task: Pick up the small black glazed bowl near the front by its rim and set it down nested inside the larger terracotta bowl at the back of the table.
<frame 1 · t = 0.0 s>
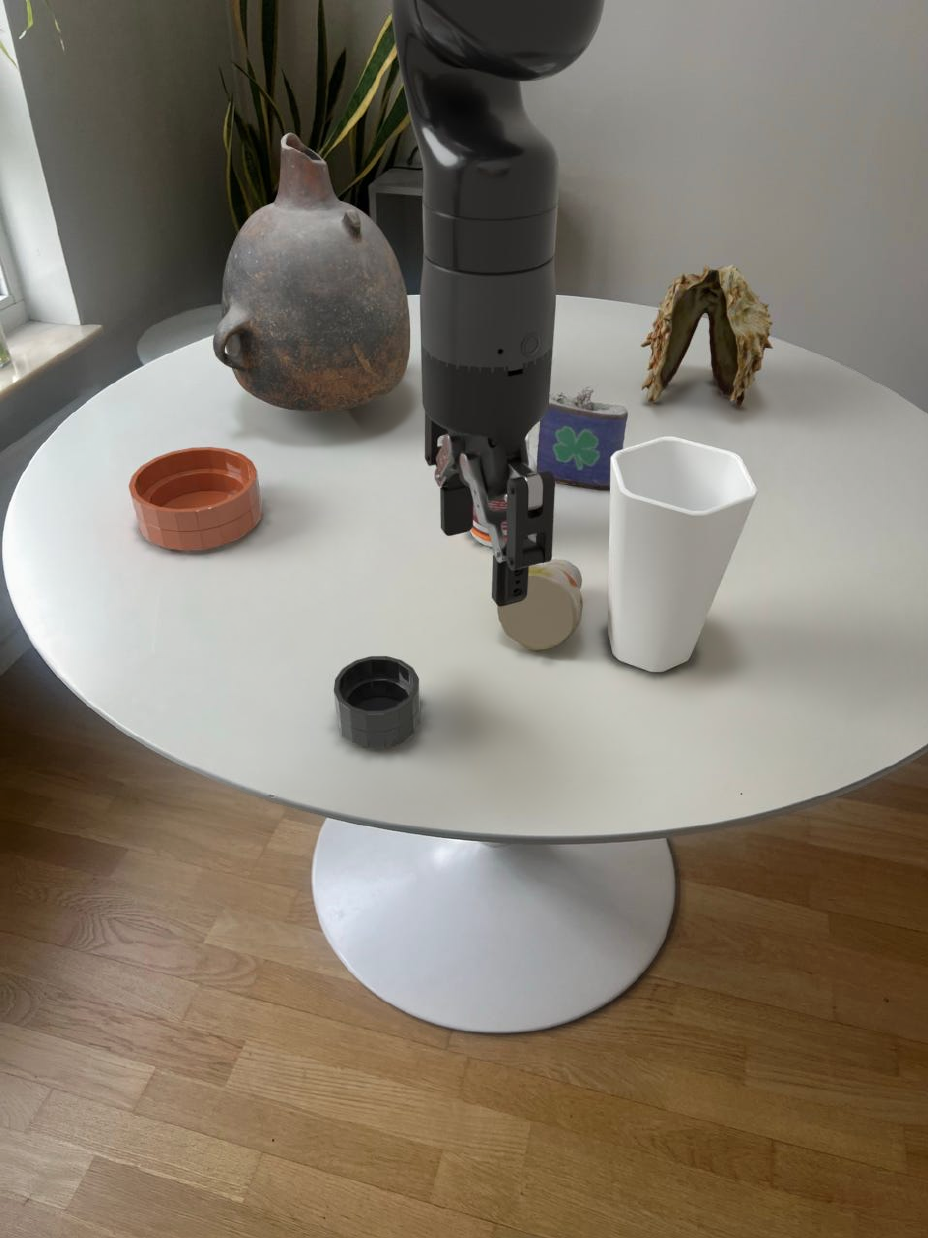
hand: (481, 564, 63), 16 cm above the table, tool pointing down, fingers open, 8 cm apart
flask: (576, 480, 102), on the table
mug: (542, 620, 83), on the table
pill bottle: (500, 534, 94), on the table
seashell: (695, 400, 116), on the table
terracotta bowl: (202, 520, 95), on the table
black bowl: (379, 722, 73), on the table
cup: (648, 645, 81), on the table
jug: (326, 408, 114), on the table
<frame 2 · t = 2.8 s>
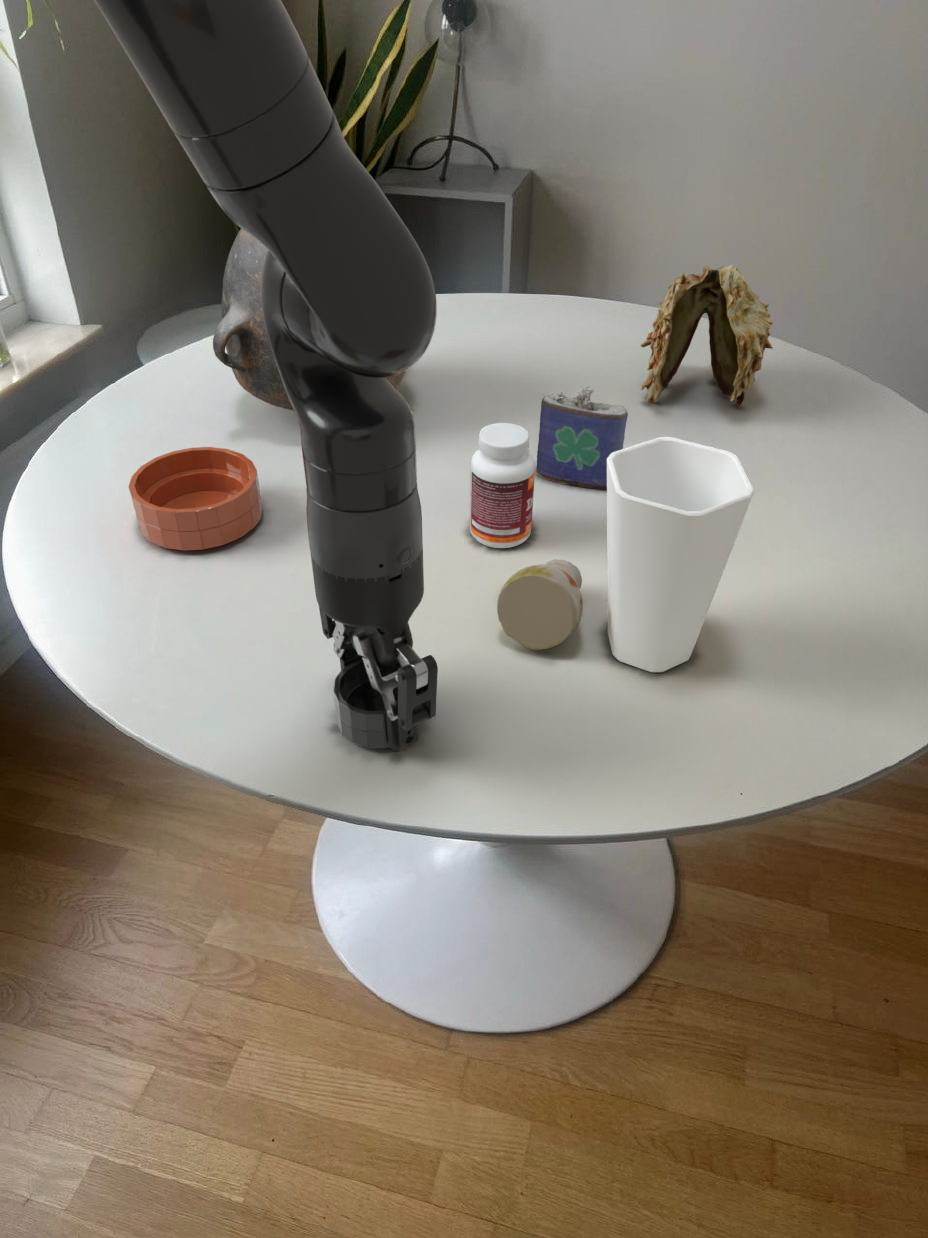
hand: (379, 715, 73), 1 cm above the table, tool pointing down, fingers closed on black bowl, 6 cm apart
black bowl: (379, 722, 73), on the table, touching gripper
everything else where it was.
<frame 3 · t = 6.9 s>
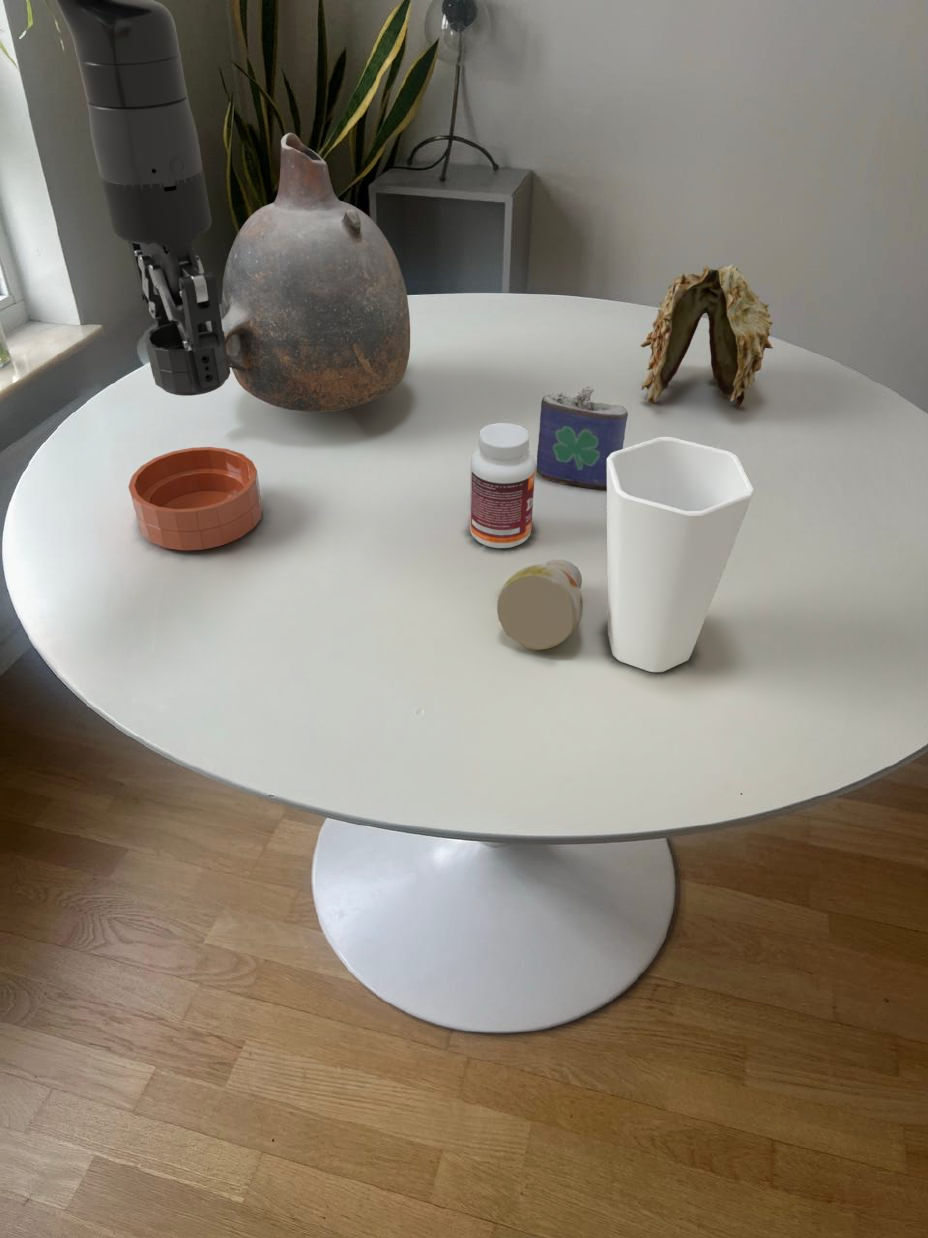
hand: (191, 372, 81), 18 cm above the table, tool pointing down, fingers closed on black bowl, 6 cm apart
black bowl: (193, 381, 81), point 17 cm above the table, touching gripper
everything else where it was.
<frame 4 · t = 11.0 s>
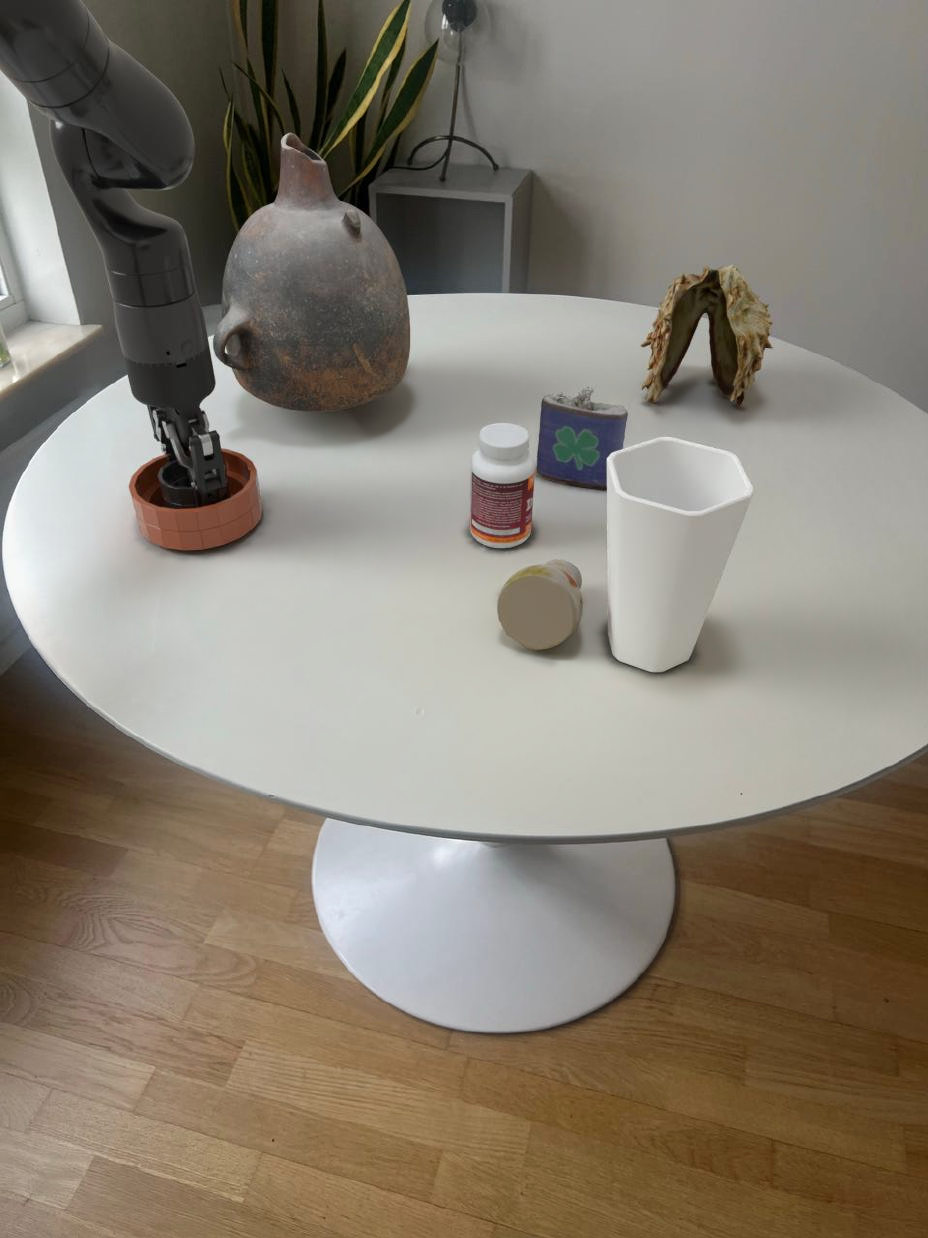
hand: (197, 501, 93), 2 cm above the table, tool pointing down, fingers closed on black bowl, 6 cm apart
black bowl: (199, 507, 94), point 2 cm above the table, touching gripper
everything else where it was.
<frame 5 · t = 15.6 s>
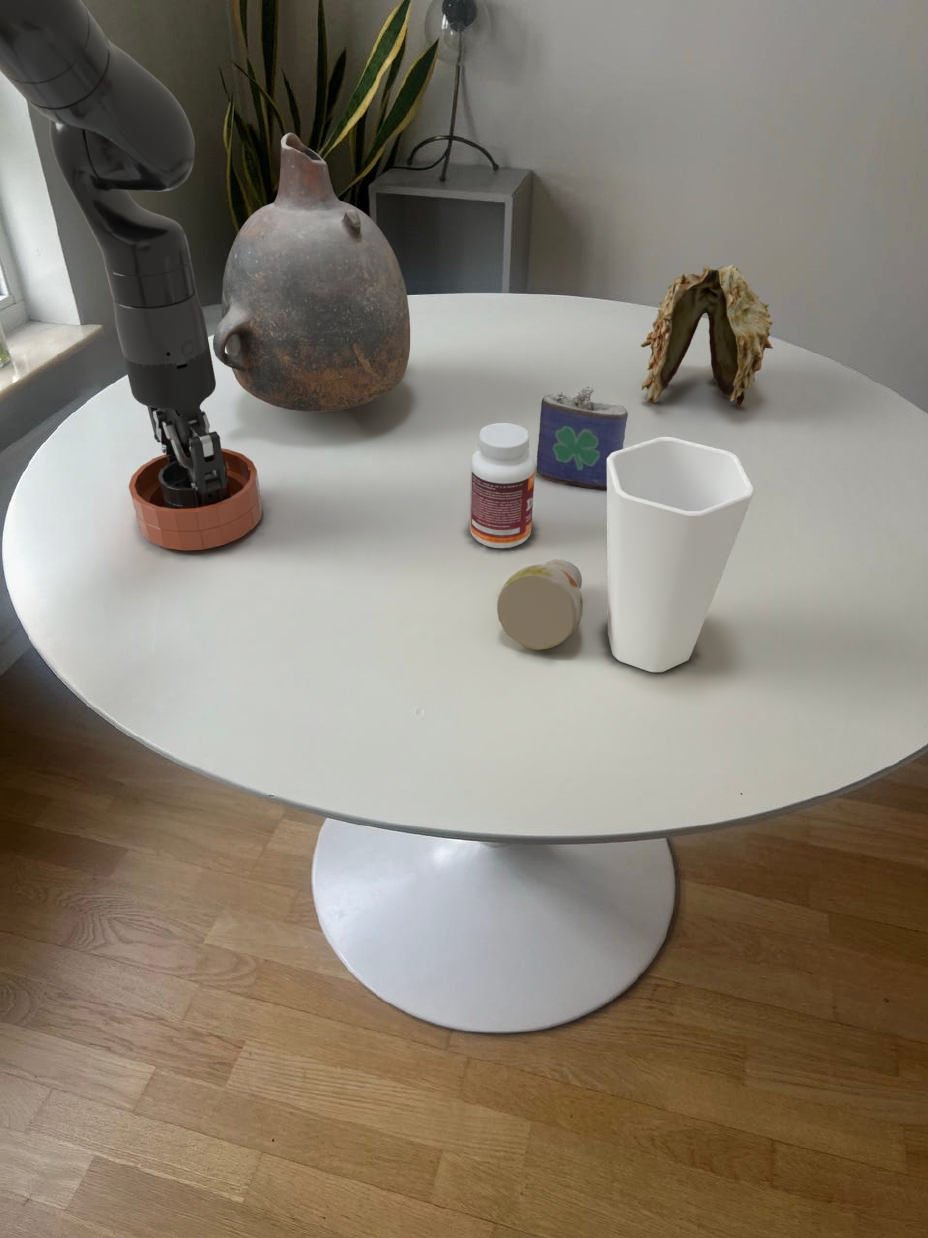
hand: (198, 502, 93), 2 cm above the table, tool pointing down, fingers closed on black bowl, 6 cm apart
black bowl: (199, 508, 94), point 1 cm above the table, touching gripper
everything else where it was.
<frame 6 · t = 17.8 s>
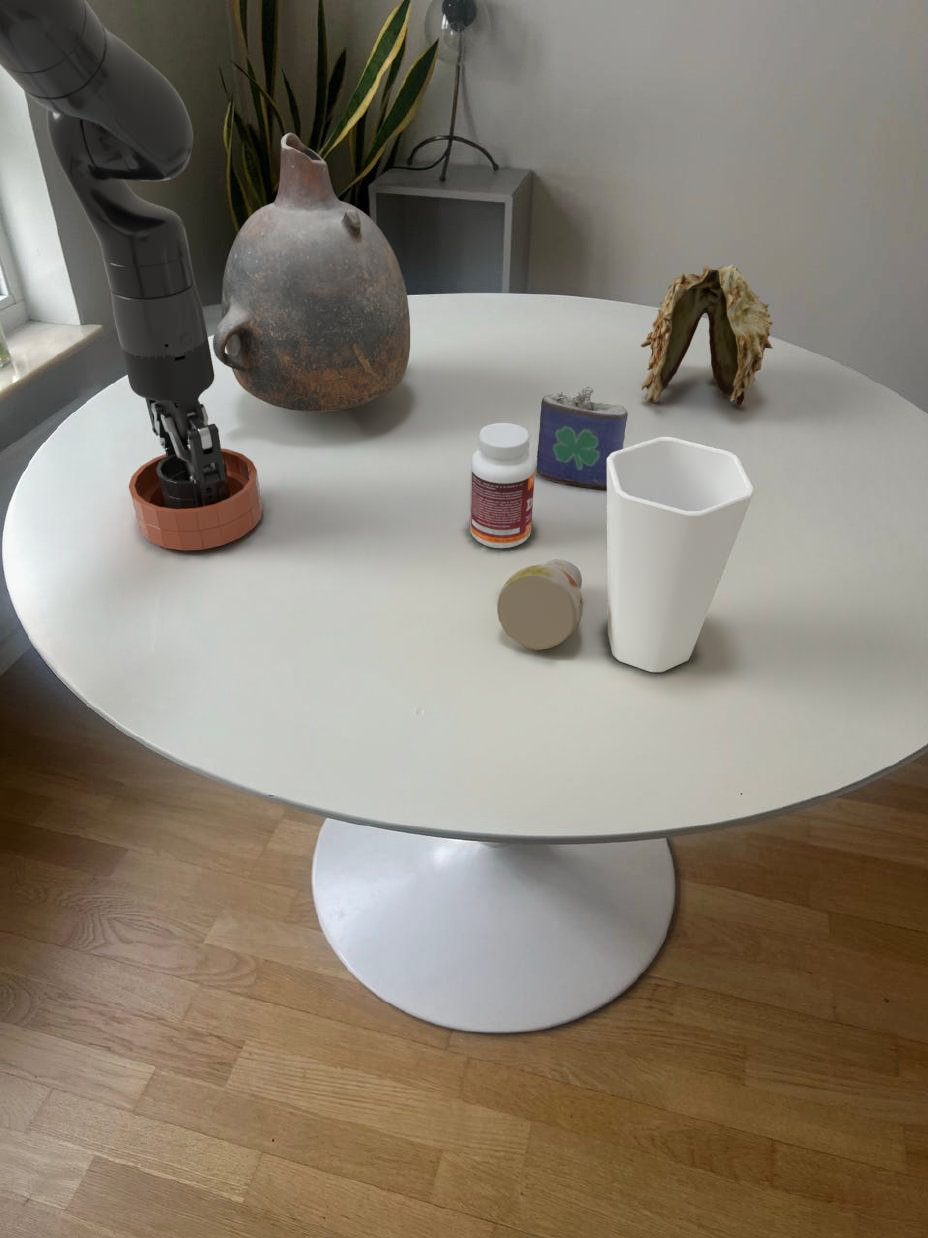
hand: (196, 495, 93), 3 cm above the table, tool pointing down, fingers closed on black bowl, 6 cm apart
black bowl: (198, 502, 94), point 2 cm above the table, touching gripper
everything else where it was.
when the fingers open (4 cm above the table, at t = 20.1 s): black bowl stays where it is, resting on terracotta bowl.
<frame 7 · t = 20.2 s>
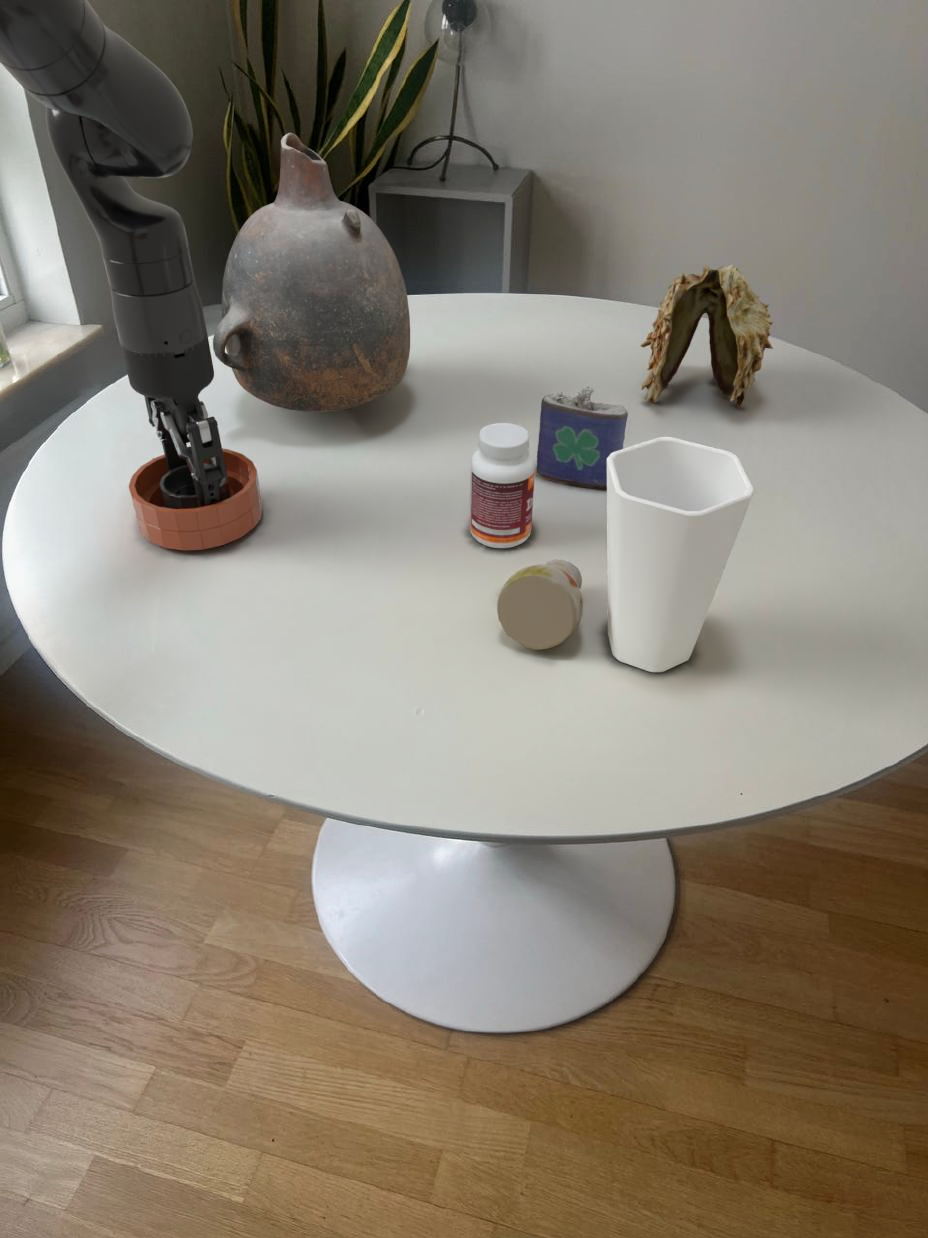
hand: (195, 489, 93), 4 cm above the table, tool pointing down, fingers open, 8 cm apart
black bowl: (200, 515, 95), point 1 cm above the table, touching terracotta bowl
everything else where it was.
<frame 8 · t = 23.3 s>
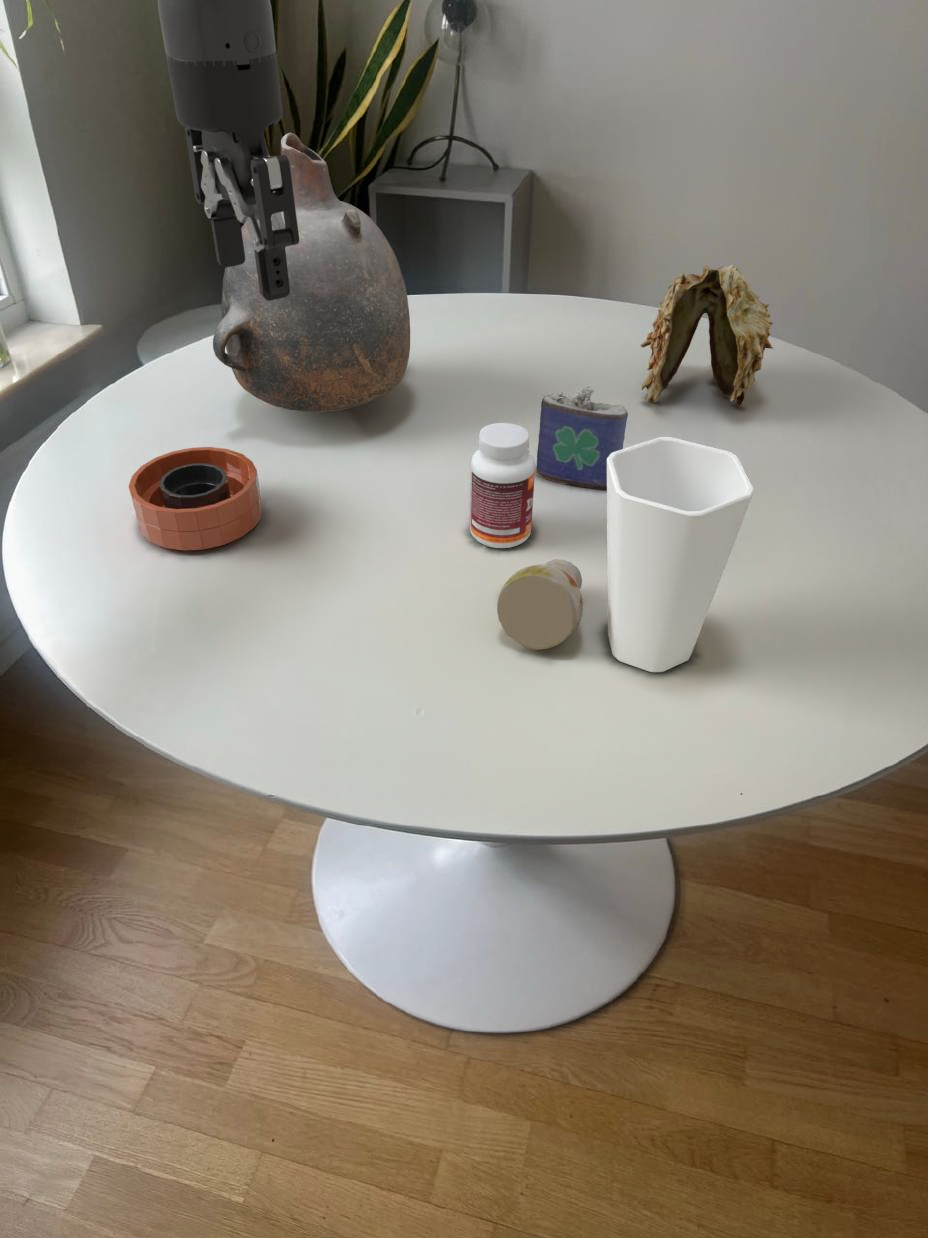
hand: (253, 280, 75), 26 cm above the table, tool pointing down, fingers open, 8 cm apart
nothing on the table moved.
at the end: black bowl 0.0 cm off-centre in the terracotta bowl, point 0.6 cm above the terracotta bowl's base; black bowl tilted 0°; the gripper is holding nothing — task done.
